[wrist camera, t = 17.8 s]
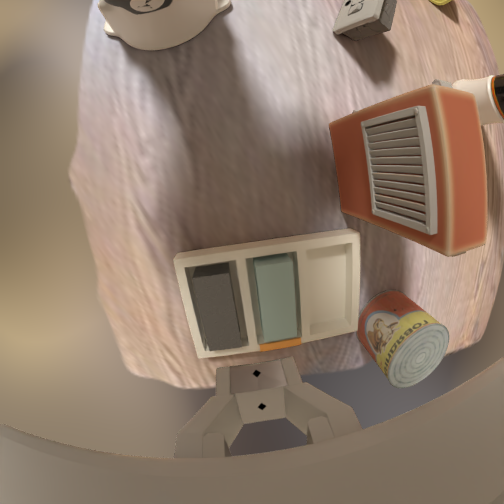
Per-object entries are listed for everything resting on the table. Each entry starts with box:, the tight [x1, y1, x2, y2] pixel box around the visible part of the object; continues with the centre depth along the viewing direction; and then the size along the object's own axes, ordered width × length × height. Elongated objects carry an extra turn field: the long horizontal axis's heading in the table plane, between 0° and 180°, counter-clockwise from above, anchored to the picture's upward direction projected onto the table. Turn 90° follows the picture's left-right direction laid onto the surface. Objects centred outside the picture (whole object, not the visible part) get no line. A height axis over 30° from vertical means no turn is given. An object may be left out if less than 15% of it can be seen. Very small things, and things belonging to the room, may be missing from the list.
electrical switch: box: [333, 0, 397, 41], centre depth 24 cm, size 9×5×9 cm, turn 160°
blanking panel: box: [253, 253, 297, 342], centre depth 36 cm, size 11×4×4 cm, turn 7°
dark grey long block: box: [192, 262, 242, 351], centre depth 36 cm, size 11×4×4 cm, turn 7°
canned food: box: [356, 290, 449, 388], centre depth 37 cm, size 11×11×12 cm
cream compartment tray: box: [173, 228, 360, 358], centre depth 37 cm, size 16×24×3 cm, turn 97°
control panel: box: [329, 79, 487, 257], centre depth 25 cm, size 21×7×15 cm
